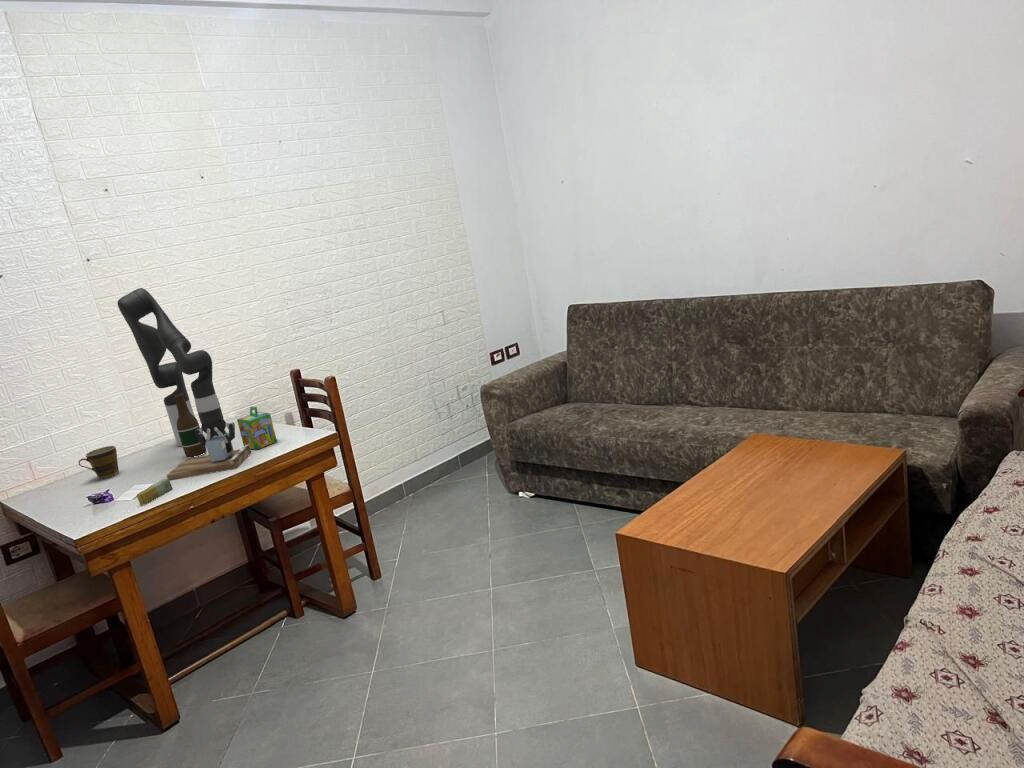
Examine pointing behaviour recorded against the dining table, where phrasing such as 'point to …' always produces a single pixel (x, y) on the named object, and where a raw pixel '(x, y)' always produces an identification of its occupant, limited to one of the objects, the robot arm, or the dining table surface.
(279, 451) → the dining table surface
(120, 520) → the dining table surface
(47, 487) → the dining table surface
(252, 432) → the colorful gift box
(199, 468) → the wooden tray
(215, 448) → the tea carton
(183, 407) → the beer bottle
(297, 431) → the dining table surface
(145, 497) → the medication box
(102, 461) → the ceramic cup
